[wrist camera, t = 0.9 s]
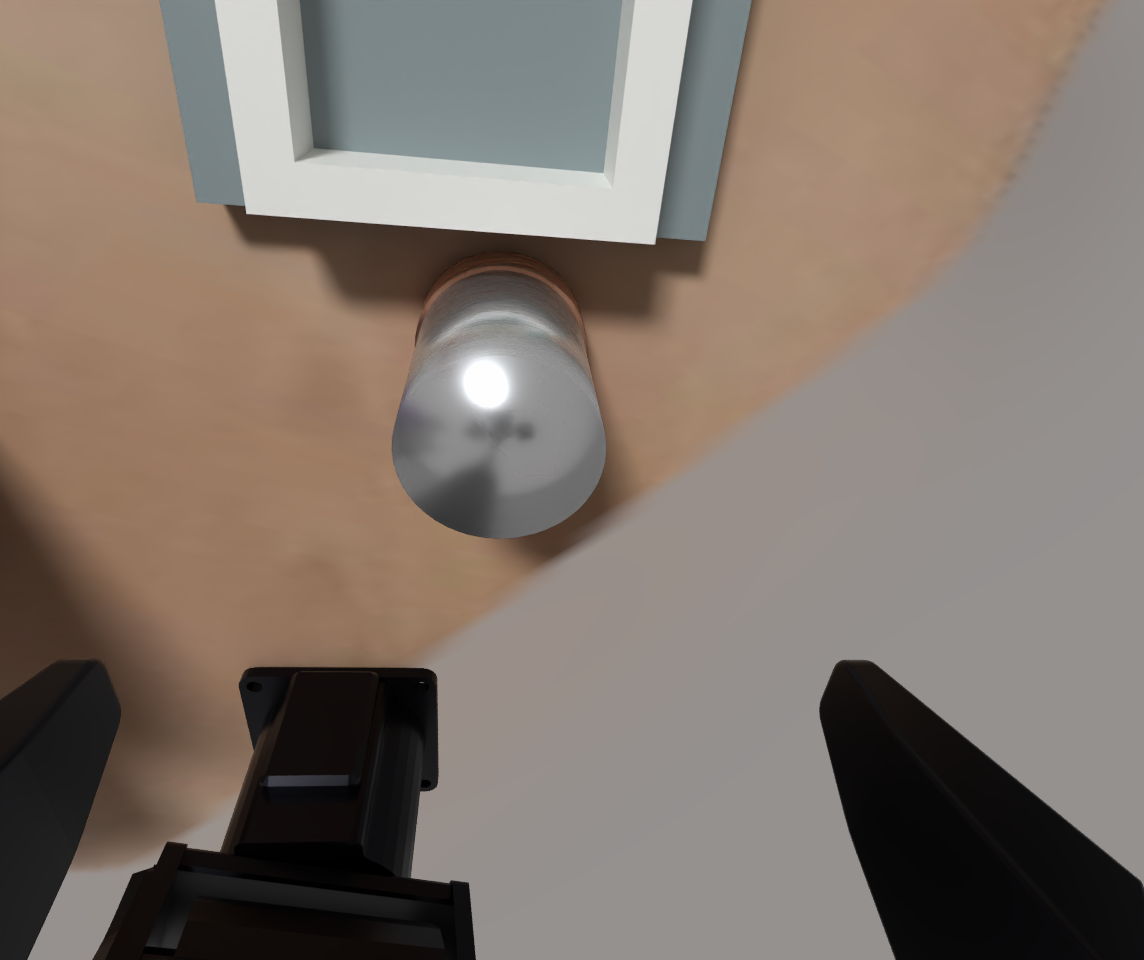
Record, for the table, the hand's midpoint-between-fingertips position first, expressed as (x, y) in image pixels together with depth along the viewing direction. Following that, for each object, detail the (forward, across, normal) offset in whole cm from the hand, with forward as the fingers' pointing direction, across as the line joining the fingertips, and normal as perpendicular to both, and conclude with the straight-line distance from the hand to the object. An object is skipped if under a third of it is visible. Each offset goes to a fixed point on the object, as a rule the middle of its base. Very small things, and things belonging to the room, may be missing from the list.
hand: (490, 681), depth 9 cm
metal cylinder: (+11, 0, 0) cm, 11 cm away
